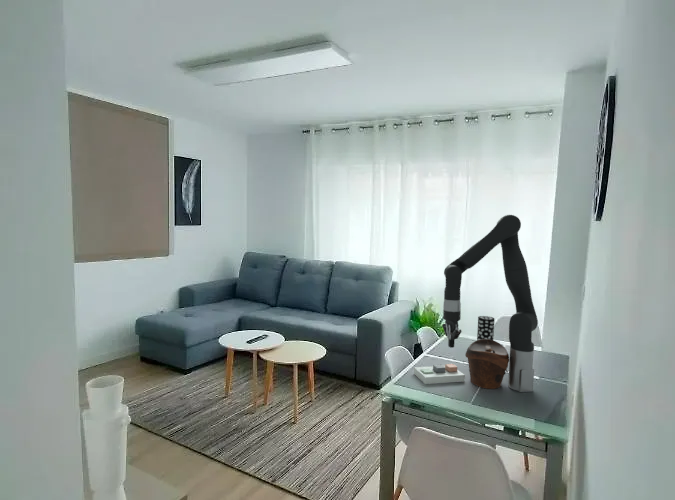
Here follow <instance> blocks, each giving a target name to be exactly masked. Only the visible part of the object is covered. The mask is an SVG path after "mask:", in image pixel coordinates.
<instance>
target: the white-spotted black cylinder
mask: <svg viewBox="0 0 675 500" xmlns="http://www.w3.org/2000/svg"><path fill="white" fill-rule="evenodd" d="M494 334H495V318H494V317H492V316H488V315H479V316H477V333H476V335H477V336H476V341H477V340H480V339H490V340H494V336H495V335H494Z"/></svg>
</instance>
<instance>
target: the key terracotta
mask: <svg viewBox="0 0 675 500" xmlns="http://www.w3.org/2000/svg"><path fill="white" fill-rule="evenodd" d="M444 366H445V369H446V370H447V371H449V372H454V371H457V370H458V366H457V365H455V364H454V363H447V364H444Z"/></svg>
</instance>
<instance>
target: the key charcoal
mask: <svg viewBox="0 0 675 500" xmlns="http://www.w3.org/2000/svg"><path fill="white" fill-rule="evenodd" d="M432 366H433V370H434V371H436V372H445V367H444V366H445V365H442V364H433V365H432Z"/></svg>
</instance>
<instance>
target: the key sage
mask: <svg viewBox="0 0 675 500" xmlns="http://www.w3.org/2000/svg"><path fill="white" fill-rule="evenodd" d="M421 372H422V373H423V374H433V372H432V371H431V370H430V369H421Z"/></svg>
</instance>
